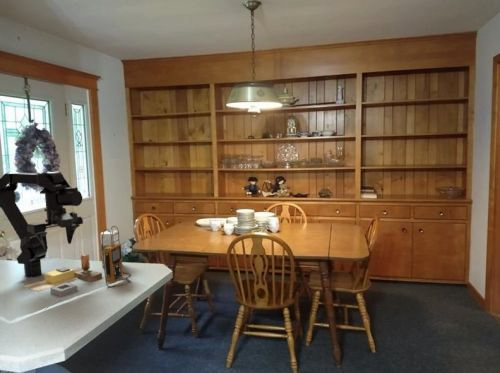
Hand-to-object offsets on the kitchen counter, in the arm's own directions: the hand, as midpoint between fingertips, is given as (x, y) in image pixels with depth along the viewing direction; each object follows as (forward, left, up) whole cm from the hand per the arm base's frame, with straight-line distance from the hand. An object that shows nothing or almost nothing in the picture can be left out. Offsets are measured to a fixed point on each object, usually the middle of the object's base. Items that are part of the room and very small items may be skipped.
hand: (58, 246), depth 146 cm
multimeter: (+23, +11, -13) cm, 29 cm away
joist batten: (+7, +5, -12) cm, 15 cm away
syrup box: (+4, +20, -13) cm, 24 cm away
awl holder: (+16, -8, -12) cm, 22 cm away
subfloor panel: (+3, -5, -12) cm, 14 cm away
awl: (+9, +5, -12) cm, 16 cm away
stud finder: (+3, -2, -12) cm, 12 cm away
